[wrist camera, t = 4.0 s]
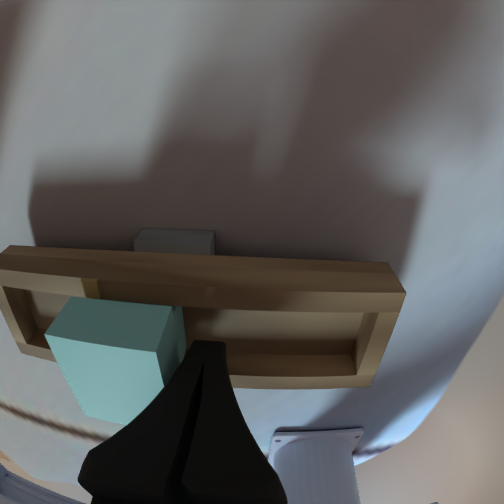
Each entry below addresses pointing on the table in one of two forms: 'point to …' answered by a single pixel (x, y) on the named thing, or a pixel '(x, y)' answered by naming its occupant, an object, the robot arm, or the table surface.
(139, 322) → the block
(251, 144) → the table surface
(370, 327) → the wooden tray
